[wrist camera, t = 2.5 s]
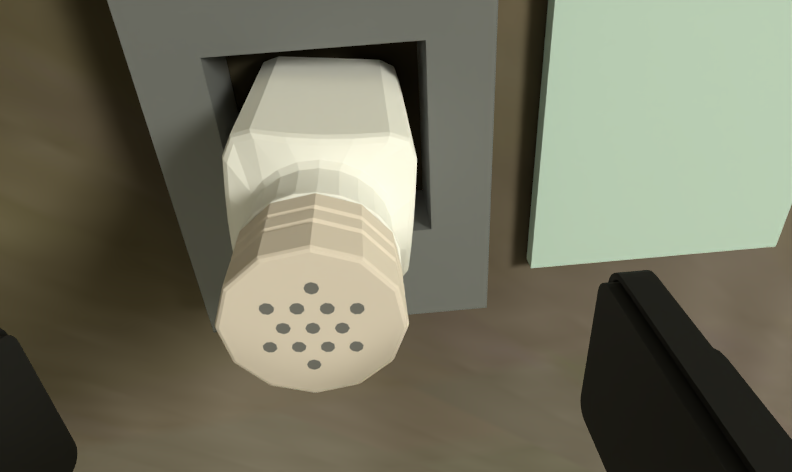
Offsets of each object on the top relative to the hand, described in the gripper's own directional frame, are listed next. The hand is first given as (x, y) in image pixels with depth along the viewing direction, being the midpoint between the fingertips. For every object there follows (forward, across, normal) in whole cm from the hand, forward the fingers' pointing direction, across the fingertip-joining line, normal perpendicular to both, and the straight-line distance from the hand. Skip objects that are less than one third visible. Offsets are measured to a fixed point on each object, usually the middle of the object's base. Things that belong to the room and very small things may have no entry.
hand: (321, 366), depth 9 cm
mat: (+10, -11, -1) cm, 15 cm away
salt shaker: (+10, 0, -1) cm, 10 cm away
